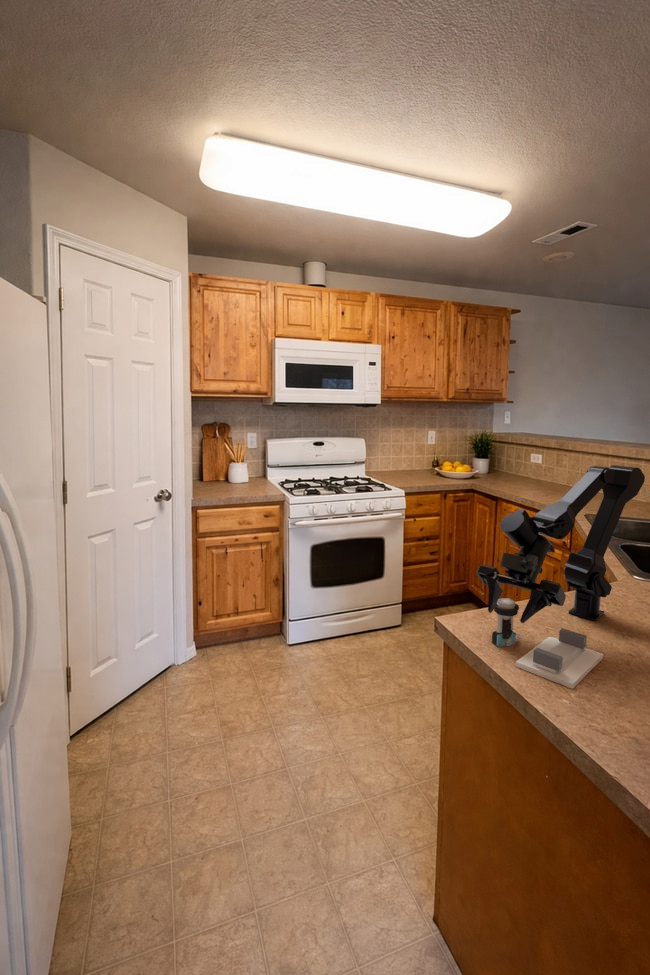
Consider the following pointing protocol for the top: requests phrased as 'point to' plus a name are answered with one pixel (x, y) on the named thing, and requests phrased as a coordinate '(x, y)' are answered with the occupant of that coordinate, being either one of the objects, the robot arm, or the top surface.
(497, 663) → the top surface
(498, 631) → the push button
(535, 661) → the rail board
